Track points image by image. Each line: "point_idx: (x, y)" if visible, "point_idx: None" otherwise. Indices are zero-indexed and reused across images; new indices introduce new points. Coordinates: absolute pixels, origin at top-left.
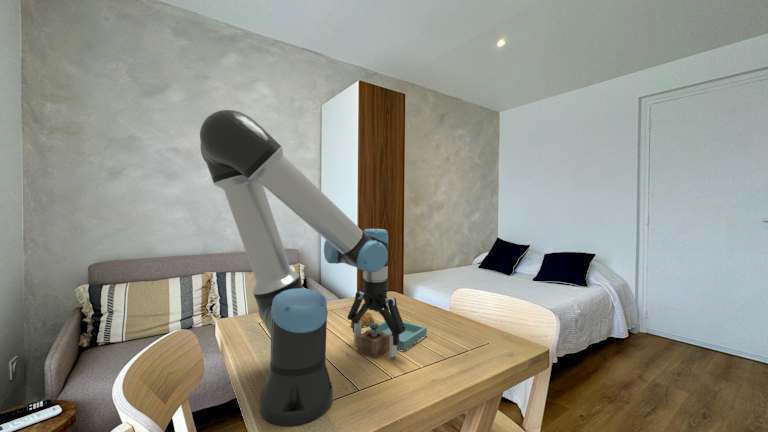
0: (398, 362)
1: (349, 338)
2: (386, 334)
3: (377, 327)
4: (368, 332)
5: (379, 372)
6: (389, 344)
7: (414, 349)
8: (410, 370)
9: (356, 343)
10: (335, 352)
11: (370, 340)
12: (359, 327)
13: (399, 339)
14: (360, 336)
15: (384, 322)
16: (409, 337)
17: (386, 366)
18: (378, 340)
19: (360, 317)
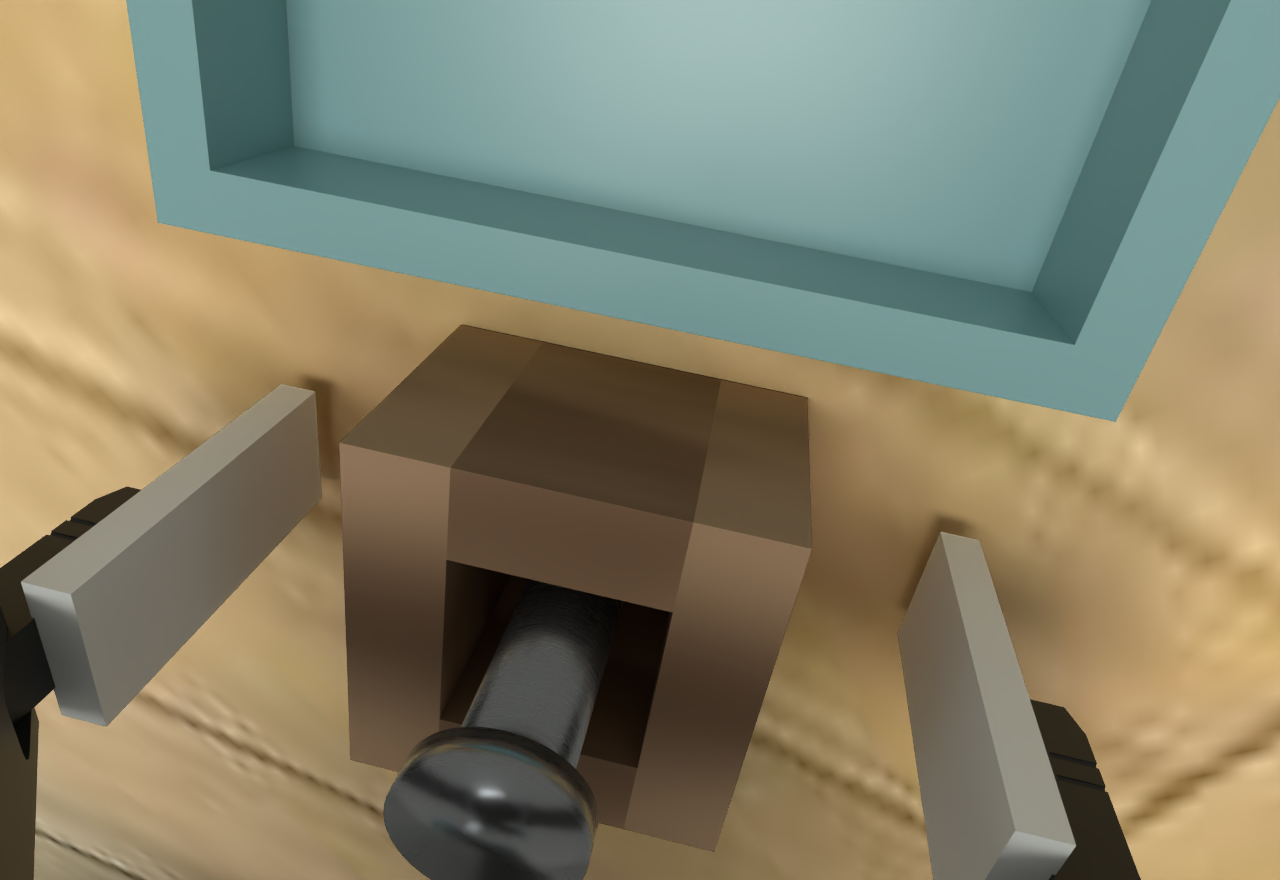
0: (1034, 638)
1: (70, 280)
2: (747, 576)
3: (592, 842)
4: (401, 610)
5: (879, 842)
6: (807, 447)
7: (1257, 156)
8: (1227, 744)
9: (313, 490)
10: (263, 663)
11: (602, 814)
12: (159, 575)
13: (984, 347)
14: (400, 768)
15: None
16: (1219, 131)
17: (911, 744)
18: (721, 807)
19: (6, 744)
